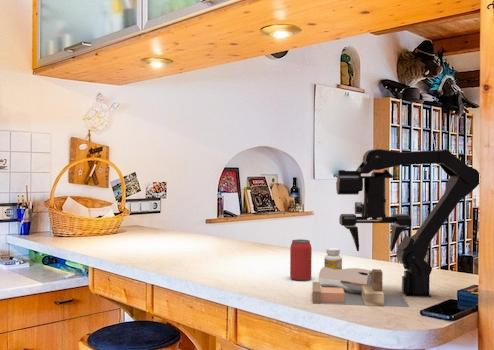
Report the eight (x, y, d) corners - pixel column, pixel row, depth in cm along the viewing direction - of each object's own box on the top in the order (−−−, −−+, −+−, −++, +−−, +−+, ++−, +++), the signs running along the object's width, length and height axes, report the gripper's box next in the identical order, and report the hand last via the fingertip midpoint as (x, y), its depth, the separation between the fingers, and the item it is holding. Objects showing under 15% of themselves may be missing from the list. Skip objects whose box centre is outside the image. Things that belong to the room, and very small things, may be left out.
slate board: (401, 296, 144) (401, 284, 144) (409, 308, 132) (409, 294, 132) (312, 293, 147) (312, 281, 147) (312, 304, 135) (313, 291, 135)
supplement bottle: (345, 280, 164) (345, 249, 164) (334, 282, 160) (334, 251, 160) (331, 277, 168) (331, 247, 168) (320, 279, 164) (320, 248, 164)
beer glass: (331, 279, 157) (379, 285, 148) (321, 294, 152) (370, 300, 143) (325, 260, 155) (373, 264, 146) (315, 274, 150) (364, 280, 141)
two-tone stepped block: (379, 297, 142) (379, 267, 141) (383, 306, 133) (384, 274, 133) (361, 296, 142) (361, 266, 142) (365, 305, 133) (365, 273, 133)
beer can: (290, 276, 169) (290, 239, 169) (311, 276, 168) (311, 239, 168) (290, 280, 162) (290, 242, 162) (311, 281, 162) (311, 242, 162)
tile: (342, 297, 141) (342, 287, 141) (344, 303, 135) (344, 293, 135) (320, 296, 142) (320, 287, 142) (320, 302, 136) (320, 292, 136)
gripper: (401, 193, 153) (401, 246, 154) (336, 193, 154) (336, 246, 154) (411, 195, 142) (411, 253, 143) (342, 195, 143) (342, 252, 143)
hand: (374, 251), depth 146 cm, fingers open, 9 cm apart
